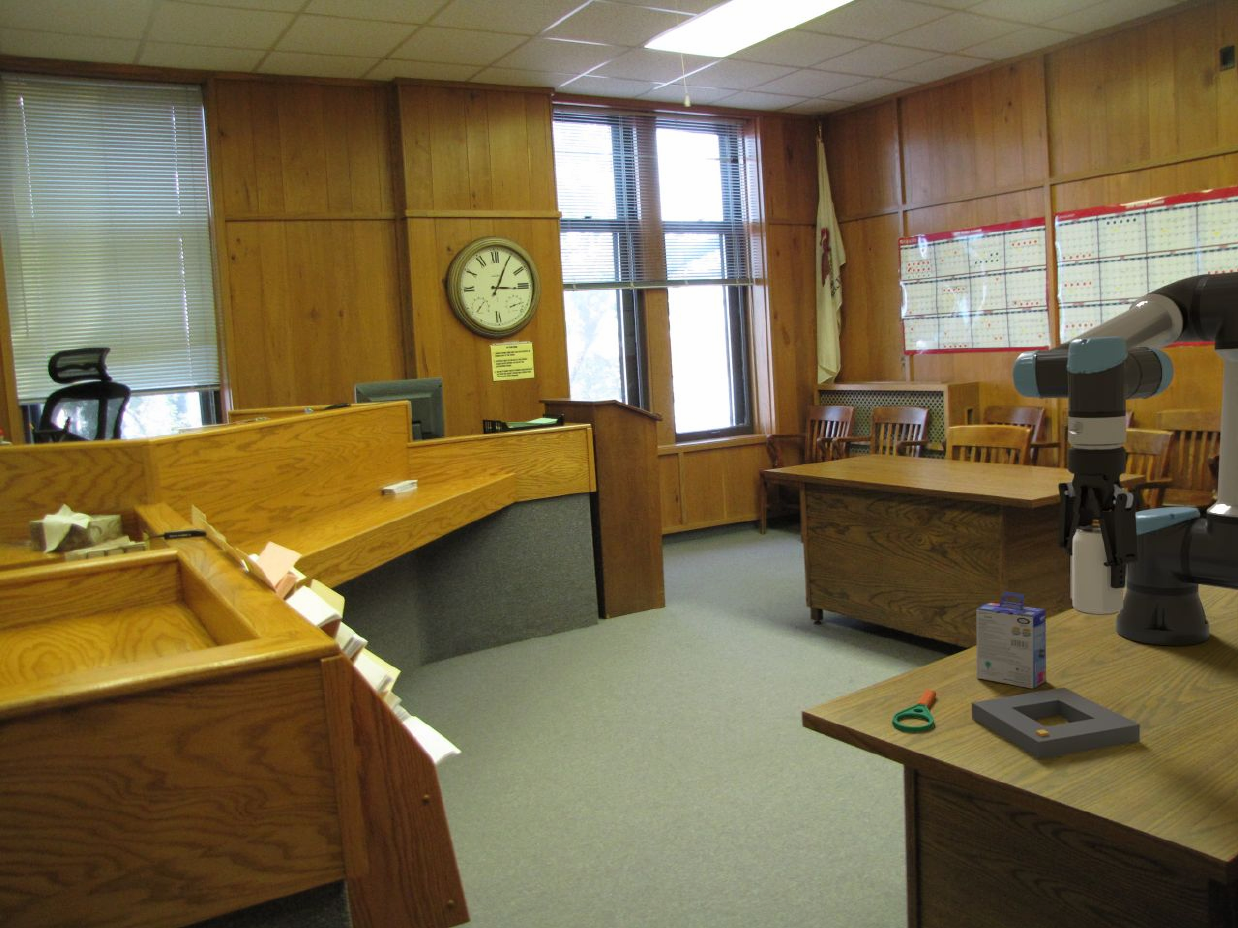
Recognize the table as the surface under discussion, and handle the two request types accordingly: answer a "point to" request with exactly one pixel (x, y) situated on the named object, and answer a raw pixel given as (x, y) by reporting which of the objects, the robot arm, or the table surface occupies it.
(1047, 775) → the table surface
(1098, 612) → the can
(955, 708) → the table surface
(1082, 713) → the socket block
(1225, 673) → the table surface
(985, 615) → the ink cartridge box
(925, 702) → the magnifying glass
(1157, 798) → the table surface
